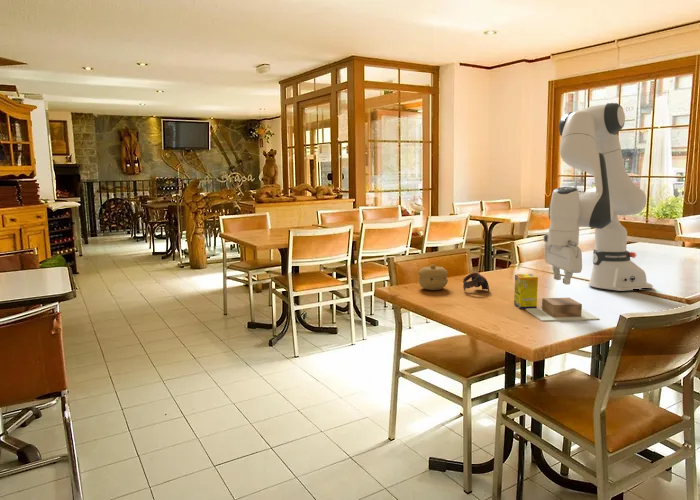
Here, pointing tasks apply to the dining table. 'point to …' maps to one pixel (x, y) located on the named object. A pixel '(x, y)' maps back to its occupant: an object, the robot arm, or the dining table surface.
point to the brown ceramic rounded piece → (475, 281)
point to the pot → (433, 277)
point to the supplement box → (525, 291)
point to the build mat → (546, 317)
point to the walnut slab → (561, 307)
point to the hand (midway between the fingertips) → (561, 281)
